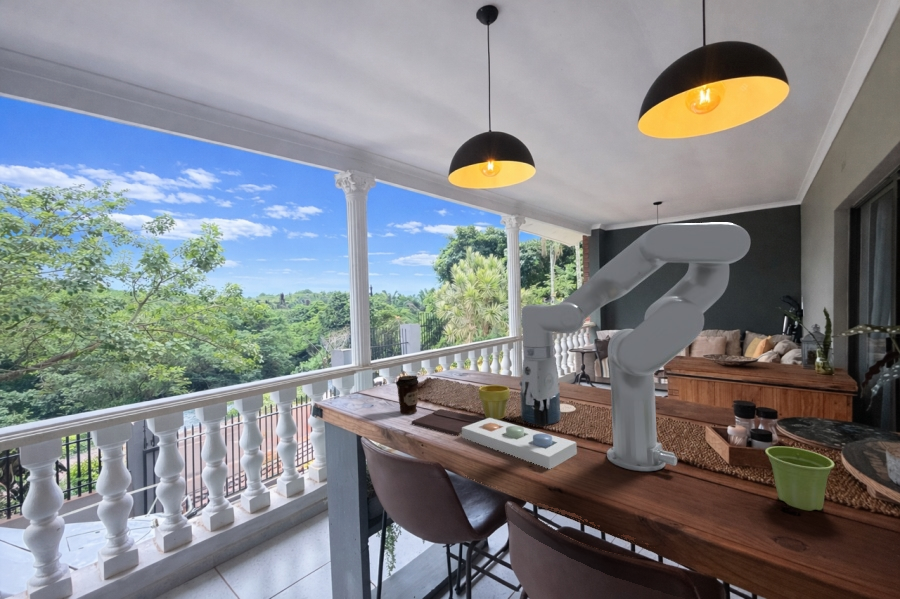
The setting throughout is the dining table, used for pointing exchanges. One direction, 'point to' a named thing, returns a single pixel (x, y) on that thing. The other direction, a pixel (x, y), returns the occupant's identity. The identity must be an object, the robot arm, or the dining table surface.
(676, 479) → the dining table surface
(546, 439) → the slate button
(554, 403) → the canister
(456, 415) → the notebook
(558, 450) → the button panel
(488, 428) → the rust button
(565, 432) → the dining table surface
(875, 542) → the dining table surface
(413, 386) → the coffee cup
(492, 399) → the plant pot
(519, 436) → the sage button
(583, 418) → the dining table surface
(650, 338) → the robot arm
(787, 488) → the plant pot
